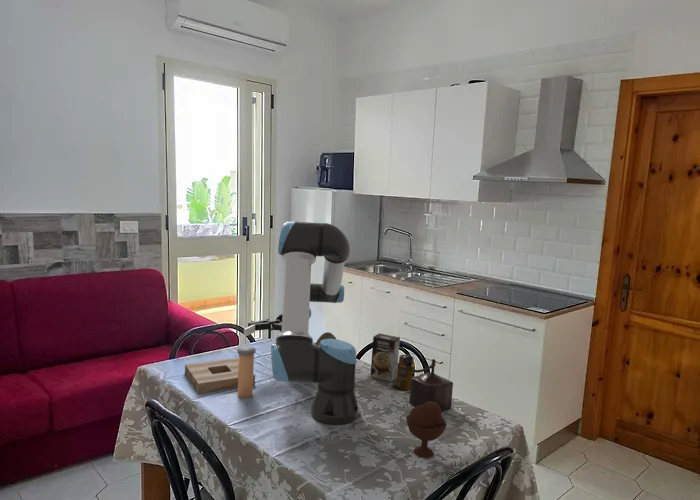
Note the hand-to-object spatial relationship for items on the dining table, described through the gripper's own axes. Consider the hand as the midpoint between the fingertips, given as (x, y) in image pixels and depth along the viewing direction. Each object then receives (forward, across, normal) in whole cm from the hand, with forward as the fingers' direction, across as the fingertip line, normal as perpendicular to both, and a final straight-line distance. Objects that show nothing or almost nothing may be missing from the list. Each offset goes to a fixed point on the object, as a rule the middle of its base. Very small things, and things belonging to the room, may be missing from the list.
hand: (261, 335), depth 173 cm
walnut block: (+3, +15, -18) cm, 24 cm away
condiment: (-20, -48, -18) cm, 55 cm away
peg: (+11, 0, -18) cm, 21 cm away
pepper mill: (-7, -58, -18) cm, 62 cm away
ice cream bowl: (+22, -64, -17) cm, 70 cm away
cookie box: (-28, -39, -18) cm, 51 cm away
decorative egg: (-25, -16, -18) cm, 35 cm away
